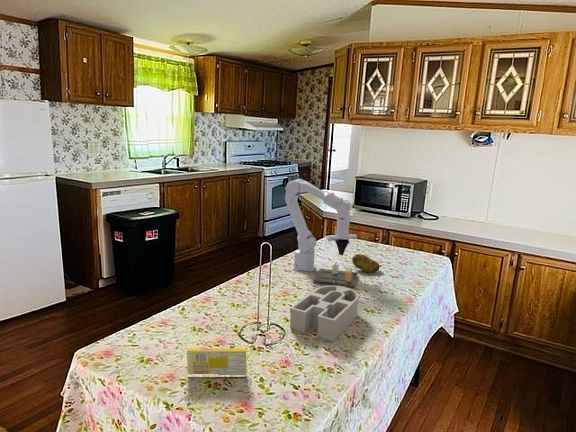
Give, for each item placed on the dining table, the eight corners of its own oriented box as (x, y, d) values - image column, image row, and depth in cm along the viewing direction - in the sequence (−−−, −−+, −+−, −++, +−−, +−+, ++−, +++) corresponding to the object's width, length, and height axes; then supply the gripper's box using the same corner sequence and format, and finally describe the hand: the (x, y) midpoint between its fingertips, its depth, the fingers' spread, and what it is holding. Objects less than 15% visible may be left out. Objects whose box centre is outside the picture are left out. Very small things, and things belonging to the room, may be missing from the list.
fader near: (345, 281, 184) (345, 271, 183) (346, 278, 187) (346, 268, 186) (350, 282, 183) (351, 272, 182) (351, 279, 186) (352, 269, 185)
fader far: (332, 273, 193) (332, 264, 192) (333, 270, 196) (333, 261, 195) (337, 274, 192) (337, 264, 191) (338, 271, 196) (338, 262, 195)
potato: (375, 276, 196) (376, 259, 195) (349, 270, 202) (350, 255, 201) (380, 270, 203) (381, 255, 202) (355, 266, 210) (356, 250, 208)
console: (313, 283, 185) (313, 279, 185) (319, 271, 200) (319, 268, 200) (353, 288, 181) (353, 284, 181) (357, 275, 196) (357, 272, 196)
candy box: (246, 374, 118) (246, 347, 116) (246, 378, 115) (246, 352, 114) (188, 374, 117) (188, 347, 115) (187, 378, 115) (186, 351, 113)
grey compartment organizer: (288, 331, 143) (289, 308, 141) (324, 302, 166) (325, 282, 164) (333, 345, 134) (334, 320, 133) (363, 312, 158) (365, 291, 156)
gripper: (332, 229, 186) (331, 258, 189) (361, 227, 191) (358, 255, 194) (325, 225, 193) (324, 253, 196) (353, 224, 198) (351, 251, 201)
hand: (341, 254), depth 195 cm, fingers closed
